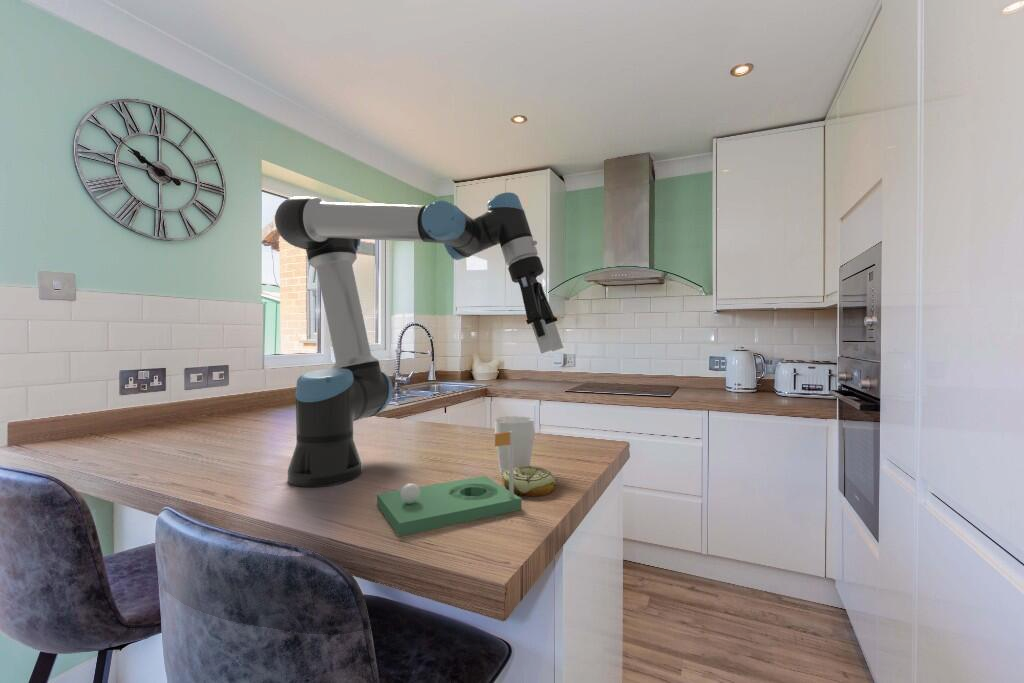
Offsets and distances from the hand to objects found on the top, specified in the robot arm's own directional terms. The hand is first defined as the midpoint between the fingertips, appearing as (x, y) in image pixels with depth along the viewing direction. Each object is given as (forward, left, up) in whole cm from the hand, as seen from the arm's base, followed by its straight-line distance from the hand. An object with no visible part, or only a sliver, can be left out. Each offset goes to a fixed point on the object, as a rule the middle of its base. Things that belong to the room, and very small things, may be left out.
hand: (553, 350), depth 100 cm
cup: (-6, -6, -28) cm, 29 cm away
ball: (+6, -34, -24) cm, 42 cm away
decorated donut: (+5, -9, -28) cm, 30 cm away
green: (+6, -27, -28) cm, 39 cm away
